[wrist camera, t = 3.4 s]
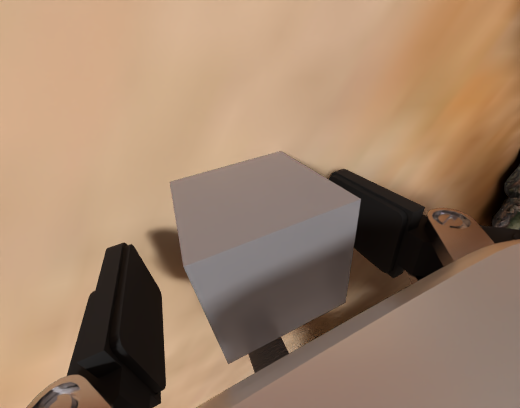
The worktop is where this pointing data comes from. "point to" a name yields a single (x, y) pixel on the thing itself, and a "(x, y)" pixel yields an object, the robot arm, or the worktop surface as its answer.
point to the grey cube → (264, 247)
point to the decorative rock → (510, 204)
